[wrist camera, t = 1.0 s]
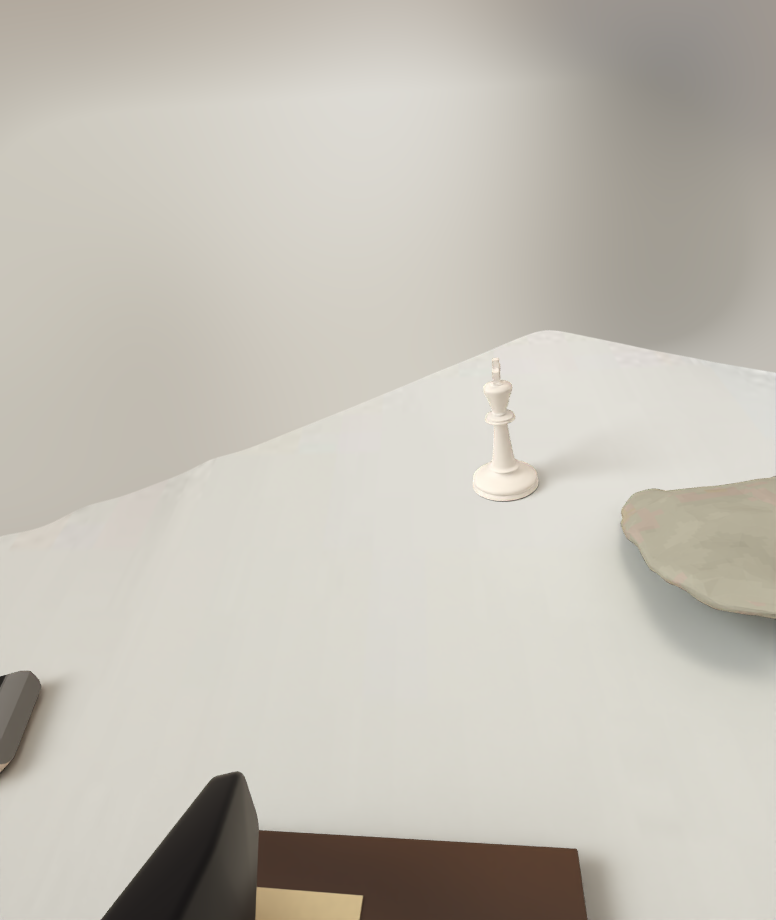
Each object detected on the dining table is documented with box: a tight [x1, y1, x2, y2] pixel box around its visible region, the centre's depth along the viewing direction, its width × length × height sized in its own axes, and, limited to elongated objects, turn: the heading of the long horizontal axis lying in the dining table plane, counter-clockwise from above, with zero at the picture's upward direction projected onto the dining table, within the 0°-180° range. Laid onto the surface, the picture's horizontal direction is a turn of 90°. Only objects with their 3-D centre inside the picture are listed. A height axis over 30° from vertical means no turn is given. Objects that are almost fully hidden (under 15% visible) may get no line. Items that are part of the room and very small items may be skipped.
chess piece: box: [473, 358, 539, 501], centre depth 41 cm, size 5×5×10 cm
